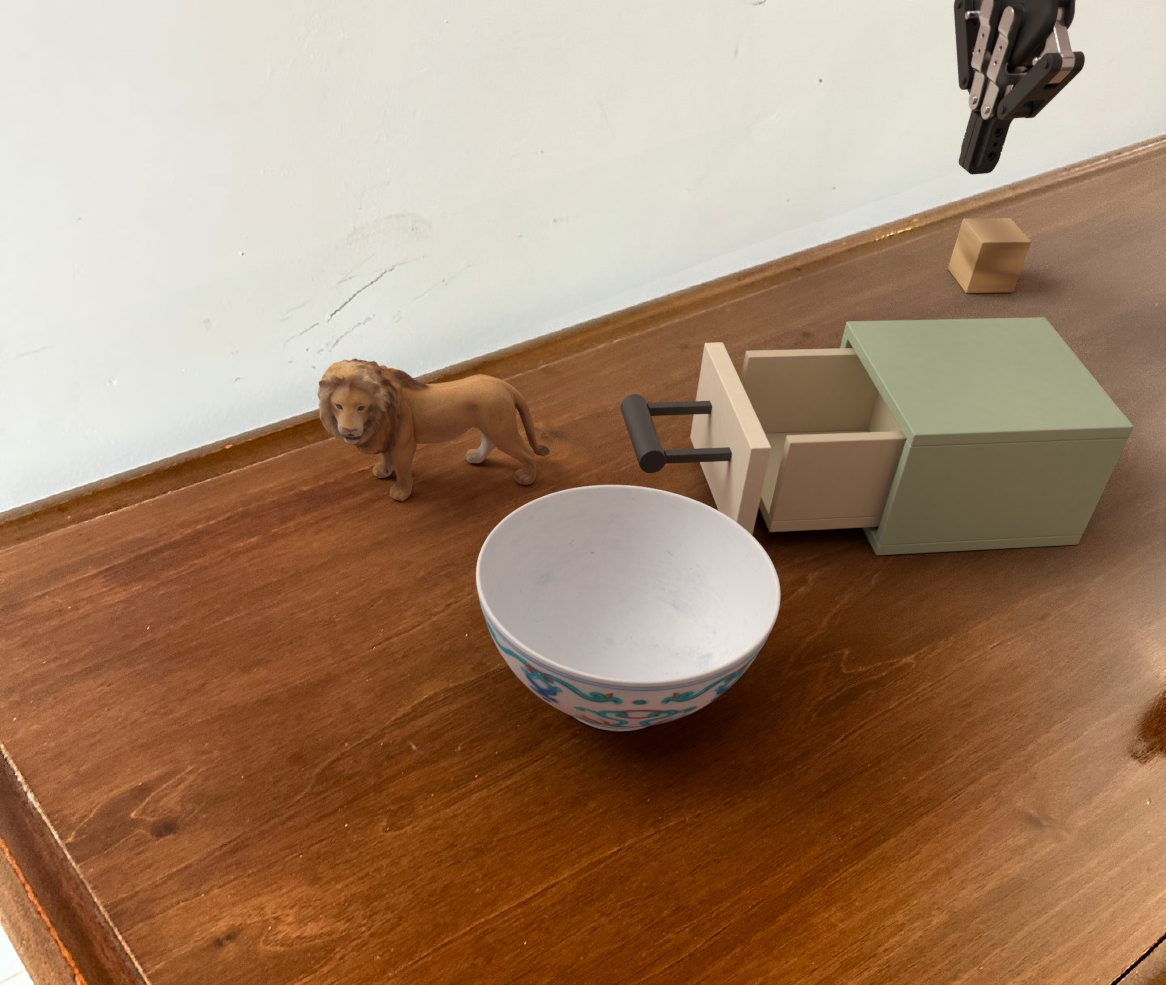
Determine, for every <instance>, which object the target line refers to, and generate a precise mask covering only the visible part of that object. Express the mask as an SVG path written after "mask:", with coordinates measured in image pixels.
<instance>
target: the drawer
mask: <svg viewBox="0 0 1166 985" xmlns="http://www.w3.org/2000/svg"><path fill="white" fill-rule="evenodd" d="M701 358H702V360H701V366H700V371H699V379H698V384H697V390H696V398H695V400H691V401H689V400H686V401H658V402H657V401H655V402H646V399H645V397H643V395H641V394H637V393H632V394H628V395H626V396H625V397H624V398H623V399H622V401H621V403H620V412H621V414H622V417H623V421H624V423H625V427H626V429H627V430H626V431H627V432H628V436H629V439H630V442H631V445H632V448H633V451H634V454H635V457H636V460H637V463H638V467H639V469H640V470H641V471H642V472H644V473H646V474H656V473H657V472H659V471H662V469H664V467H665V465H666V464H668V465H669V464H687V463H688V464H689V463H690V464H693V463H699V465H700V466H701V469H702V472H703V474H704V477H705V479H706V482H707V485H708V487H709V490H710V492H711V495H712V498H713V500H714V503H715V505H716V507H717V510H718V511H719V512H721V513H723V514H725V515H726V516H728V517H729V518H731V519H732V520H734V521H735V522H737V523H738V524H739V525H741V526H742V527H743V528H744V529H746V530H747V531H748V532H749V533H750V534H751V535H752V536H753V534H754V531H755V530H754V529H755V525H756V521H757V517H758V516H757V515H758V511H760V513H761V516H762V518H763V520H764V522H765V525H766V527H767V529H768V532H769V533H776V532H777V533H778V532H780V533H781V532H798V531H818V530H821V531H822V530H837V529H838V530H839V529H840V530H841V529H859V528H862V527H879V525H880V522H881V518H882V515H883V512H884V509H885V506H886V502H887V499H888V496H889V493H890V490H891V487H892V483H893V480H894V477H895V474H896V471H897V467H898V464H899V461H900V458H901V455H902V452H903V448H904V445H905V442H906V440H907V439H906V437H905V435H904V433H903V432H902V430H901V428H900V427H899V425H898V423H897V422H896V420H895V418H894V417H893V415H892V413H891V411H890V410H889V408H888V406H887V405H886V403H885V401H884V400H883V398H882V396H881V395H880V393H879V391H878V389H877V388H876V386H875V384H874V383H873V381H872V379H871V378H870V376H869V374H868V373H867V371H866V369H865V367H864V366H863V364H862V362H861V361H860V359H859V357H858V356H857V354H856V352H855V351H854V349H853V348H840V347H839V348H838V347H837V348H810V349H809V348H801V349H797V348H796V349H762V350H761V349H759V350H757V349H755V350H745V353H744V359H743V364H742V370H741V375H740V376H739V374H738V372H737V370H736V368H735V366H734V363H733V360H732V359H731V357H730V354H729V353H728V350H727V348H726V345H725V344H724V342H705V343H704V347H703V352H702V357H701ZM689 415H691V416H692V415H693V416H692V424H691V430H690V440H691V441H690V442H691V444H692V446H693V448H677V449H673V448H672V449H664V448H663V446H662V443H661V440H660V437H659V434H658V432H657V428H656V426H655V423H654V420H653V417H658V416H659V417H660V416H661V417H662V416H663V417H664V416H689Z"/></svg>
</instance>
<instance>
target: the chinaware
mask: <svg viewBox="0 0 1166 985" xmlns="http://www.w3.org/2000/svg"><path fill="white" fill-rule="evenodd" d="M475 584H476V590H477V596H478V599H479V604H480V607H481V611H482V615H483V617H484V621H485V623H486V626H487V629H488V631H489V633H490V636H491V638H492V640H493V642H494V645H495V646H496V648H497V650H498V653H499V654H500V655H501V657H502V658H503V660H504V662H505V663H506V664H507V666H508V667H509V669H510V670H511V671H512V672H513V674H514V675H515V676H516V677H517V678H518V679H519V680H520V682H521V683H523V685H524V686H525V687H527V689H529V690H530V691H531V692H532V693H533V694H535V696H537V697H538V698H539V699H541V700H542V701H543V702H545V703H547V704H548V705H550V706H551V707H552V708H555V709H557V710H558V711H560V712H562V713H564V714H566V715H568V716H571V717H573V718H574V719H576V720H577V721H579V722H581V723H583V724H585V725H587V726H590V727H593V728H596V729H599V730H602V731H603V730H604V731H610V732H630V731H636V730H641V729H645V728H647V727H651V726H657V725H662V724H666V723H670V722H673V721H676V720H679V719H681V718H684V717H686V716H689V715H691V714H693V713H695V712H698V711H699V710H700V709H703V708H705V707H706V706H708V705H709V704H710V703H713V702H714V701H716V700H717V699H718V698H719V697H721V696H722V695H723V694H724V693H726V692H727V691H728V690H729V689H730V688H731V687H732V686H733V685H734V684H735V683H736V682H737V681H738V680H739V679H740V678H741V677H742V676H743V674H745V673H746V671H747V670H748V669H749V668H750V666H751V665H752V663H753V662H754V661H755V660H756V658H757V657H758V655H759V653H760V652H761V650H762V649H763V647H764V645H765V644H766V642H767V641H768V638H769V636H770V634H771V633H772V631H773V629H774V626H775V624H776V621H777V618H778V615H779V612H780V607H781V597H782V596H781V585H780V584H781V583H780V579H779V575H778V573H777V570H776V568H775V565H774V563H773V561H772V559H771V557H770V556H769V553H768V552H767V551H766V550H765V548H764V547H763V546H762V544H761V543H760V542H759V541H758V540H757V539H756V538H755V537H754V536H753V535H751V534H750V533H749V532H748V531H747V530H746V529H744V528H743V527H742V526H741V525H739V524H738V523H737V522H735V521H734V520H732V519H731V518H729V517H728V516H726V515H725V514H723V513H721V512H719V510H718V509H716V508H713V507H712V506H710V505H708V504H705V503H703V502H701V501H698V500H697V499H696V500H695V499H693V498H690V497H688V496H685V495H682V494H679V493H675V492H670V491H667V490H663V489H657V488H653V487H647V486H638V485H626V484H597V485H595V484H594V485H588V486H587V485H585V486H578V487H573V488H568V489H562V490H559V491H556V492H552V493H549V494H546V495H544V496H540V497H538V498H536V499H533V500H530V501H529V502H527V503H525V504H523V505H521V506H519V507H518V508H517V509H515V510H513V511H512V512H510V513H509V514H508V515H507V516H505V517H504V518H503V519H502V520H501V521H500V522H499V523H498V524H496V526H494V528H493V529H492V530H491V531H490V533H489V534H488V535H487V537H486V539H485V540H484V542H483V544H482V546H481V549H480V550H479V554H478V558H477V561H476V568H475Z"/></svg>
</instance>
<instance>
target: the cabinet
mask: <svg viewBox="0 0 1166 985" xmlns="http://www.w3.org/2000/svg"><path fill="white" fill-rule="evenodd" d="M839 348H853V349H854V351H855V352H856V354H857V356H858V357H859V359H860V361H861V362H862V364H863V366H864V367H865V369H866V371H867V373H868V374H869V376H870V378H871V379H872V381H873V383H874V384H875V386H876V388H877V389H878V391H879V393H880V395H881V396H882V398H883V400H884V401H885V403H886V405H887V406H888V408H889V410H890V411H891V413H892V415H893V417H894V418H895V420H896V422H897V423H898V425H899V427H900V428H901V430H902V432H903V433H904V435H905V437H906V439H907V440H906V442H905V445H904V448H903V452H902V455H901V458H900V461H899V464H898V467H897V471H896V474H895V477H894V480H893V483H892V487H891V490H890V493H889V496H888V499H887V502H886V506H885V509H884V512H883V515H882V518H881V522H880V525H879V527H862V531H863V532H864V535H865V537H866V538H867V541H868V542H869V544H870V546H871V549H872V550H873V553H874V554H875V556H890V555H910V554H925V553H926V554H929V553H946V552H947V553H948V552H950V553H951V552H964V551H965V552H969V551H983V550H1001V549H1003V550H1005V549H1020V548H1022V549H1024V548H1039V547H1057V546H1058V547H1059V546H1076V545H1077V546H1078V545H1079V543H1080V541H1081V539H1082V537H1083V534H1084V533H1085V530H1086V529H1087V527H1088V524H1089V522H1090V520H1091V518H1092V516H1093V514H1094V512H1095V510H1096V508H1097V505H1098V503H1099V501H1100V499H1101V497H1102V495H1103V493H1104V491H1105V489H1106V486H1107V484H1108V483H1109V480H1110V478H1111V476H1112V474H1113V472H1114V469H1115V468H1116V465H1117V463H1118V461H1119V459H1120V457H1121V455H1122V453H1123V451H1124V449H1125V447H1126V445H1127V442H1128V441H1129V438H1130V436H1131V433H1132V432H1133V430H1134V425H1133V423H1132V422H1131V421H1130V420H1129V419H1128V418H1127V416H1126V414H1124V413H1123V412H1122V410H1121V408H1120V407H1119V406H1118V405H1117V404H1116V403H1115V401H1114V400H1113V398H1111V396H1110V395H1109V393H1107V391H1105V389H1104V388H1103V387H1102V385H1101V384H1100V383H1099V382H1098V381H1097V379H1096V378H1095V377H1094V376H1093V375H1092V373H1091V372H1090V371H1089V369H1088V368H1087V366H1085V365H1084V363H1083V362H1082V361H1081V360H1080V358H1079V357H1078V356H1077V355H1076V353H1075V352H1074V351H1073V350H1072V348H1071V347H1070V346H1069V345H1068V344H1067V342H1066V341H1065V340H1064V339H1063V337H1062V336H1061V335H1060V334H1059V332H1058V331H1057V330H1056V329H1055V328H1054V326H1053V325H1052V324H1051V323H1050V321H1049V320H1048V319H1047V318H1046V317H1044V316H1040V317H1039V316H1037V317H1001V318H1000V317H998V318H997V317H995V318H992V317H991V318H988V317H987V318H947V319H946V318H945V319H944V318H942V319H900V320H899V319H898V320H897V319H896V320H849V321H846V322H845V326H844V331H843V335H842V337H841V342H840V347H839Z"/></svg>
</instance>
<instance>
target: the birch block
mask: <svg viewBox="0 0 1166 985" xmlns="http://www.w3.org/2000/svg"><path fill="white" fill-rule="evenodd" d="M1031 244H1032V241H1031V240H1030V239H1029V237H1028V236H1027V235H1026V234H1025V233H1024V232H1023V231H1022V230H1021V228H1020V227H1019V225H1017V224H1016V222H1014V220H1013V219H1012V218H1011V217H997V218H996V217H995V218H994V217H990V218H989V217H988V218H987V217H986V218H981V217H980V218H979V217H977V218H962V221H961V224H960V228H959V230H958V234H957V238H956V241H955V243H954V247H953V250H952V254H951V257H950V259H949V260H950V261H949V263H948V267H947V269H948V271H949V273H950V274H951V275H952V276H953V278H954V279H955V281H956V282H957V283H958V285H959V286H960V287H961V289H962V291H964V293H966V294H997V293H1001V294H1002V293H1004V294H1005V293H1014V292H1015V289H1016V287H1017V284H1018V280H1019V278H1020V275H1021V273H1022V269H1023V267H1024V264H1025V261H1026V259H1027V255H1028V253H1029V249H1030V246H1031Z"/></svg>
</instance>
